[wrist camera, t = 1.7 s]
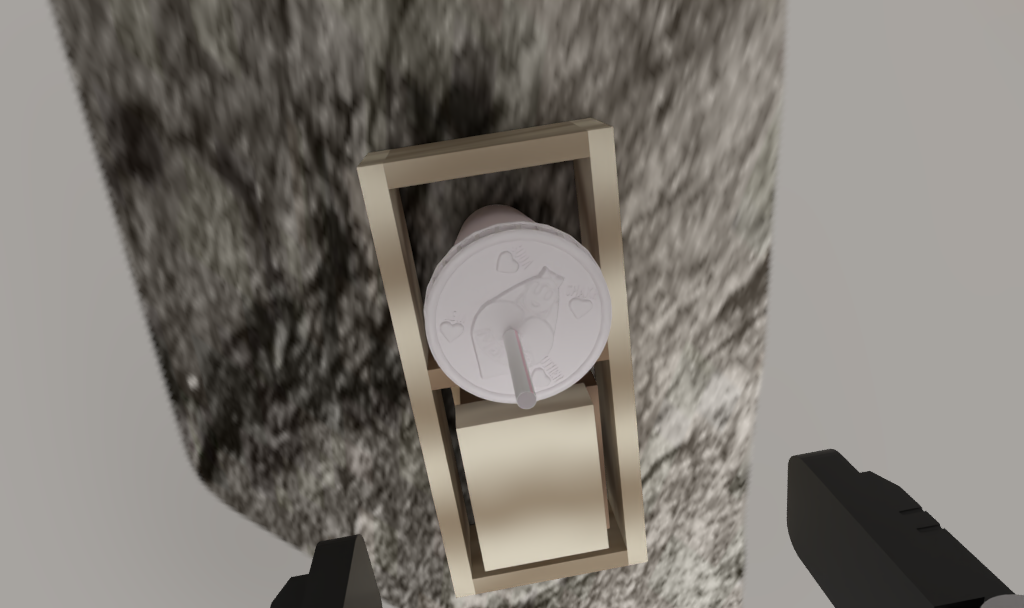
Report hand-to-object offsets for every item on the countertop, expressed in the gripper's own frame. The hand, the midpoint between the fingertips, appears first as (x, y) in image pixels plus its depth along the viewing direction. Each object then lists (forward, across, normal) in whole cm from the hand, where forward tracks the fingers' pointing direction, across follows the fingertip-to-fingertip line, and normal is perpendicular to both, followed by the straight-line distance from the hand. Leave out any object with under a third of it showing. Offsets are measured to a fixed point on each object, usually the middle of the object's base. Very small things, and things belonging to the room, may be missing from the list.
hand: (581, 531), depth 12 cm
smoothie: (+20, 0, 0) cm, 20 cm away
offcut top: (+16, 0, +10) cm, 19 cm away
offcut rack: (+20, 0, +6) cm, 21 cm away
